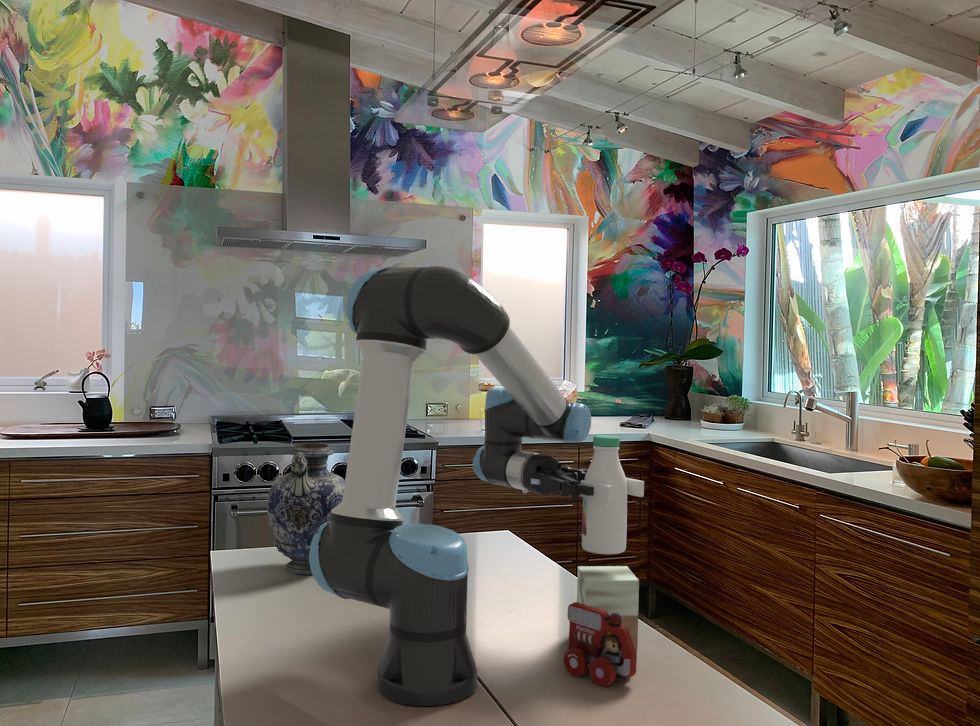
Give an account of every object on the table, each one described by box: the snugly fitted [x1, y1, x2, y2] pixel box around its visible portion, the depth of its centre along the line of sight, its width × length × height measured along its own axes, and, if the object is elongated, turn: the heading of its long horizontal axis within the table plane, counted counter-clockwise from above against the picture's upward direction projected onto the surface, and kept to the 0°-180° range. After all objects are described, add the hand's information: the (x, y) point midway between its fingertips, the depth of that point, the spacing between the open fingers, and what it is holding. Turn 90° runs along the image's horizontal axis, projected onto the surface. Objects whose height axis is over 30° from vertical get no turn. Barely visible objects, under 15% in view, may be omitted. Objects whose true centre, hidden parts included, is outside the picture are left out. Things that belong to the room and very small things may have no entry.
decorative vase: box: [266, 442, 345, 576], centre depth 183 cm, size 21×19×28 cm
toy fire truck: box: [563, 601, 638, 687], centre depth 128 cm, size 7×12×10 cm, turn 47°
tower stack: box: [576, 565, 640, 651], centre depth 142 cm, size 8×9×12 cm
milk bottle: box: [581, 434, 628, 555], centre depth 143 cm, size 8×8×20 cm
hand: (626, 491), depth 139 cm, fingers closed on milk bottle, 8 cm apart
